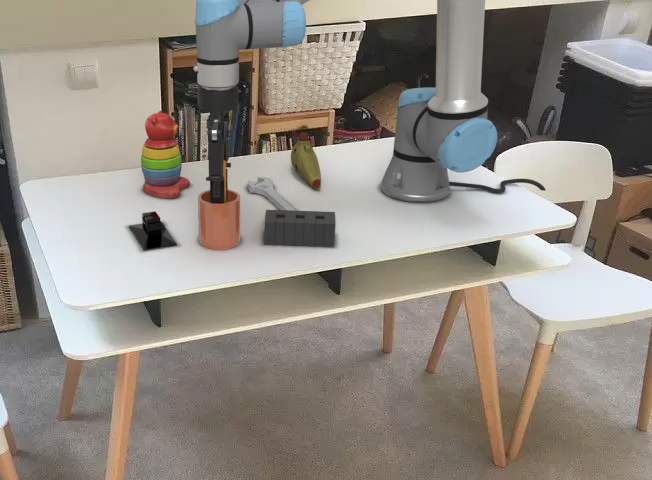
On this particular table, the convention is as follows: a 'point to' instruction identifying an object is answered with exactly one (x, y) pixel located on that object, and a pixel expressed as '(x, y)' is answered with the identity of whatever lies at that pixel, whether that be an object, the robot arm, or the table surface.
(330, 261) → the table surface
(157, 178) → the stacking bear
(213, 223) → the pen cup
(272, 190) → the adjustable wrench
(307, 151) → the olive green tapered piece
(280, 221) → the holder
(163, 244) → the build plate
